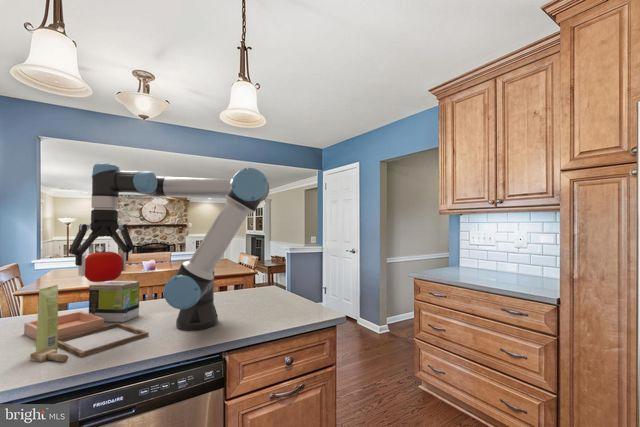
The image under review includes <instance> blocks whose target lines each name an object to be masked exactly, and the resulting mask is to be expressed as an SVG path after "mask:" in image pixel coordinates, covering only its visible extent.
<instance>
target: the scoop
mask: <svg viewBox="0 0 640 427" xmlns="http://www.w3.org/2000/svg"><path fill="white" fill-rule="evenodd" d="M29 359H30V361H31V362H32V361H33V362H38V363H43V362H46V361H48V360H49V361H50V360H51V361H54V362H55V361H56V362H62V363H65V362H67V360H68V359H69V355H67V354H62V353H58V350H57V349H56V350H54V349H48V348H46V349H43V350H40V351H37V352H36V351H35V352H32V353H30V357H29Z"/></svg>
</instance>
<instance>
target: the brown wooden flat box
mask: <svg viewBox="0 0 640 427" xmlns="http://www.w3.org/2000/svg"><path fill="white" fill-rule="evenodd" d="M104 323H105V322H104V318H101V317H98V316H95V315H92V314H89V312H85V311H76V312H70V313H67V314H61V315H58V338H61V337H65V336H69V335H72V334H76V333H80V332H84V331H88V330H92V329H96V328H99V327H103V326H105V324H104ZM23 334H24V335H25V336H28V337H29V338H31V339H33V340H35V341H36V340H37V320H32V321H27V322H24V327H23Z"/></svg>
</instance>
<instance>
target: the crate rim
mask: <svg viewBox="0 0 640 427" xmlns="http://www.w3.org/2000/svg"><path fill="white" fill-rule="evenodd" d="M114 328H115V329H116V328H118V329H122V330H125V331H127V332H131V333H134V334H135V335H132V336H129V337H128V336H127V337H125V338H123V339H120V340H116V341H113V342H109V343H105V344H102V345H99V346H97V347H93V348H90V349H87V350H84V351H83V350H81V349H79V348H78V347H75V346H73V345H70V344H68V343H66V341H70V340H74V339H76V338H81V337H84V336H90V335H91V334H96V333H99V332H103V331H107V330H111V329H114ZM145 337H149V331H145V330H143V329H139V328H136V327H133V326H130V325H127V324H124V323H122V322H114V323H111V324H108V325H104V326H103V327H99V328H96V329H92V330H88V331H84V332H80V333H76V334H72V335H69V336H65V337H61V338H58V347H59V348H61V349H63V350H65V351H66V352H69V353H70V354H73V355H75V356H77V357H78V358H79V357H80V358H84V357H86V356H91V355H92V354H96V353H99V352H103V351H105V350H108V349H111V348H114V347H117V346H121V345H124V344H127V343H131V342H135V341H137V340H140V339H143V338H145ZM58 347H57V348H58Z"/></svg>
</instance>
